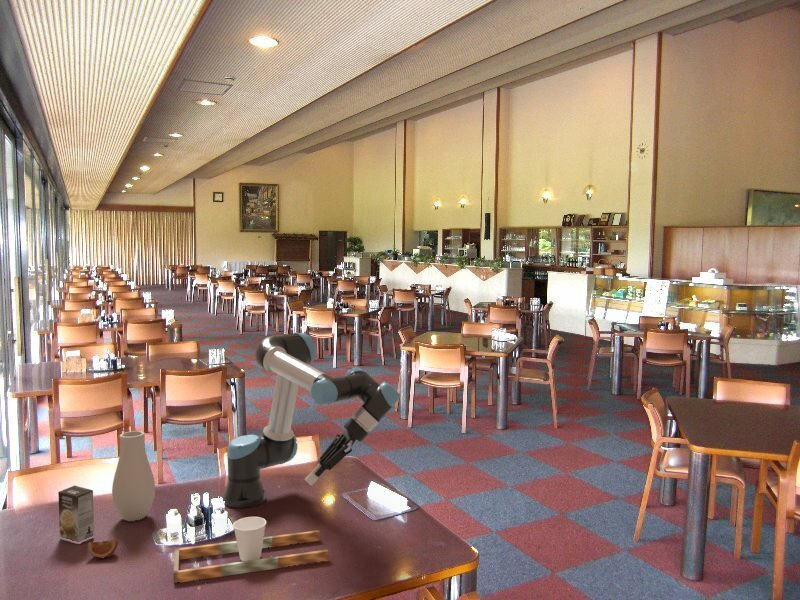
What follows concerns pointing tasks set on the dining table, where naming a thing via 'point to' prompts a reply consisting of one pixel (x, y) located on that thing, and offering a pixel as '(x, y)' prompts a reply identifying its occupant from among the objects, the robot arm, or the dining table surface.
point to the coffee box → (76, 513)
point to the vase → (133, 478)
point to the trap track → (246, 565)
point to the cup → (249, 537)
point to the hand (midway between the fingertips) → (308, 482)
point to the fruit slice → (102, 548)
